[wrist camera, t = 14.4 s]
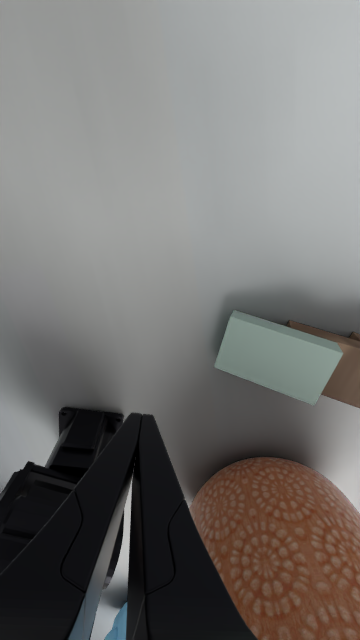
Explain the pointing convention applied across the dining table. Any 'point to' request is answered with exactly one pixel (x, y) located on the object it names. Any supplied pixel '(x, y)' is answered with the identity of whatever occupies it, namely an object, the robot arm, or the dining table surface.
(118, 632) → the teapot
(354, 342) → the domino
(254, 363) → the domino
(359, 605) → the planter
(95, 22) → the dining table surface
